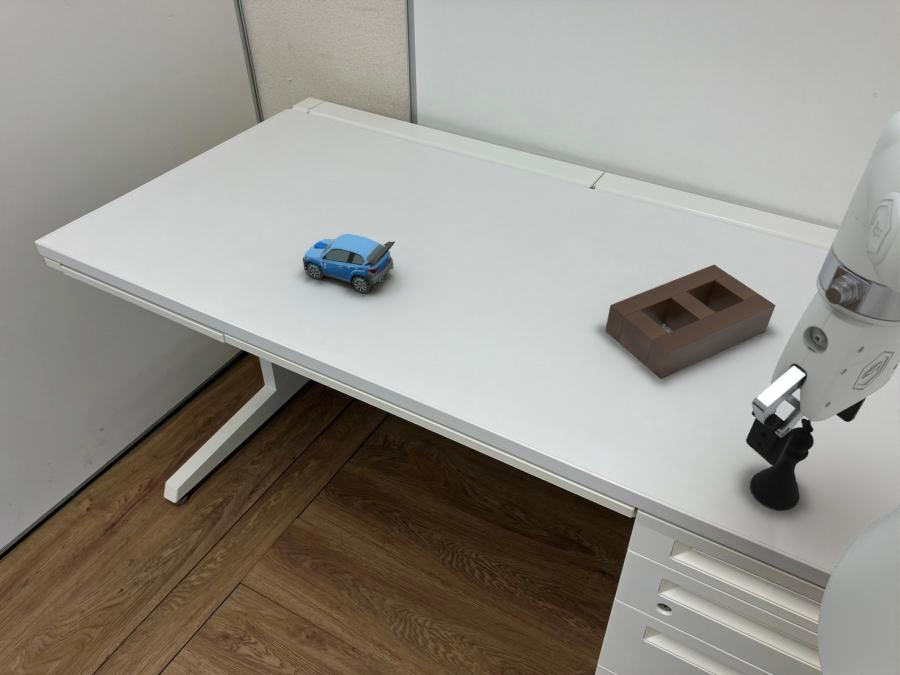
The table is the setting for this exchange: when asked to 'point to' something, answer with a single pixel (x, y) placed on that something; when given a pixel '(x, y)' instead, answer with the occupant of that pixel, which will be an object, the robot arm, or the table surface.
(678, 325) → the socket base
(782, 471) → the chess piece
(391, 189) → the table surface
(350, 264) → the toy car
